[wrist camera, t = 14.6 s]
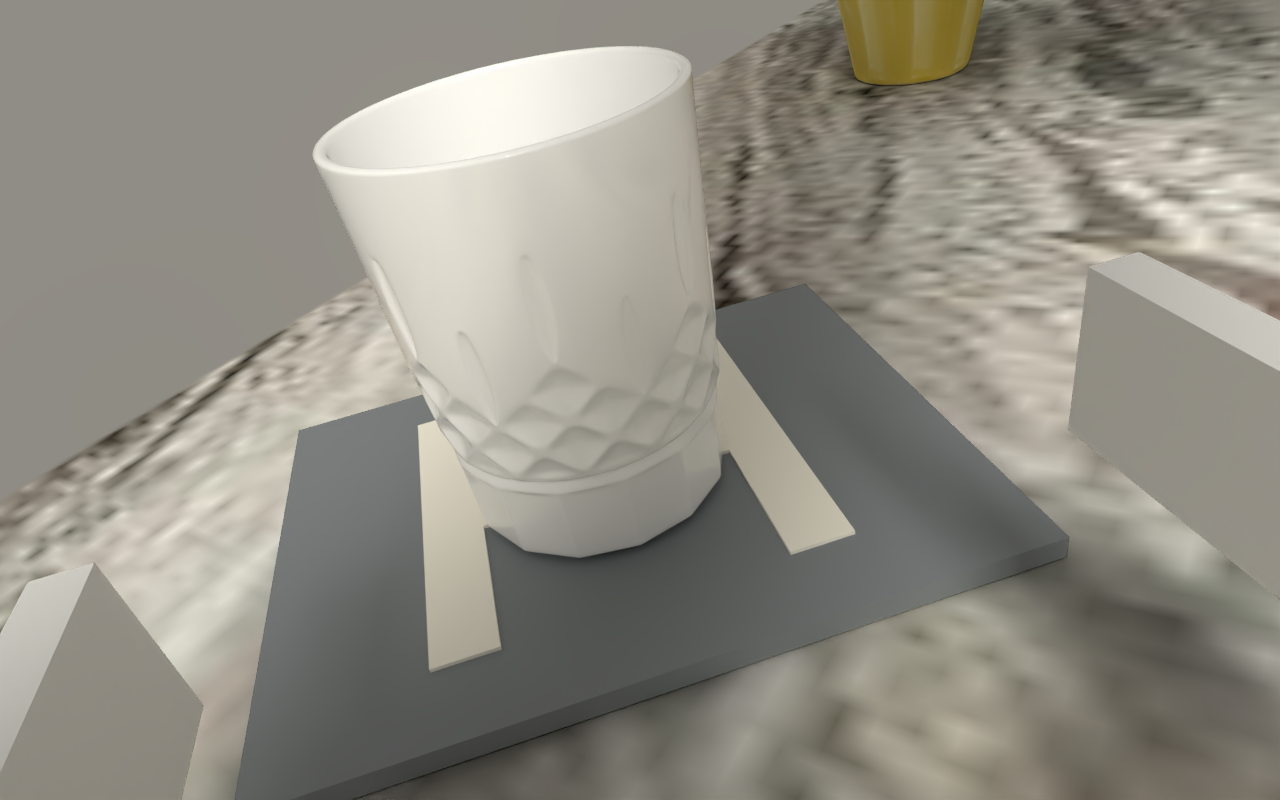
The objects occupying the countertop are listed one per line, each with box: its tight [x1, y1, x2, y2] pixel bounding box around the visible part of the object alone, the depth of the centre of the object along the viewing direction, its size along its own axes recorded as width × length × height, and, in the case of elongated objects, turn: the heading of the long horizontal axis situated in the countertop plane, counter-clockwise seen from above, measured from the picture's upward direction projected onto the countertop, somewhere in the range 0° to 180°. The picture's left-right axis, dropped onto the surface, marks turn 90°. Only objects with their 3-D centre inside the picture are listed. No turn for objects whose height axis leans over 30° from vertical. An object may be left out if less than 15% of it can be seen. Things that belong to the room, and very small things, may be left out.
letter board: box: [235, 284, 1069, 800], centre depth 23 cm, size 18×14×1 cm
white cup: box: [313, 46, 723, 558], centre depth 20 cm, size 8×8×10 cm
